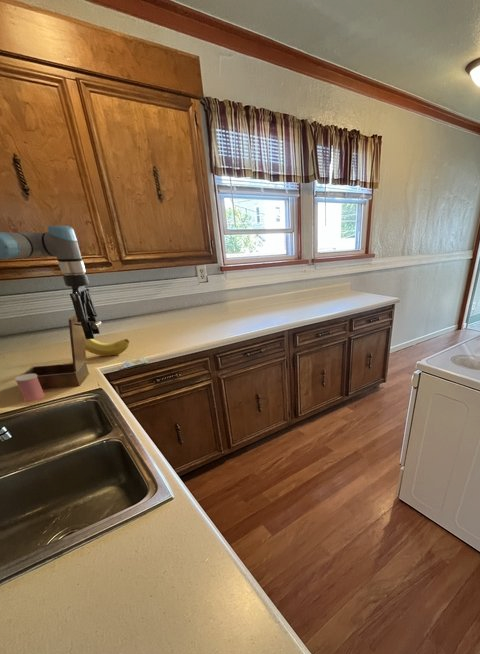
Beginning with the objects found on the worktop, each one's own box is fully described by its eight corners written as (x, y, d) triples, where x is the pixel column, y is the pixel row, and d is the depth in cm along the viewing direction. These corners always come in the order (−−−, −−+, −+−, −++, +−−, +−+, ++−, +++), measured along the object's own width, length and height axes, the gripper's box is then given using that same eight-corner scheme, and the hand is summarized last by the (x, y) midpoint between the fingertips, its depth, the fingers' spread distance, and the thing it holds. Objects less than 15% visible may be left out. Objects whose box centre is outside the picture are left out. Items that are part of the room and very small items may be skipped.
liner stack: (20, 404, 117) (10, 381, 113) (30, 396, 123) (21, 374, 118) (40, 402, 118) (30, 379, 114) (49, 394, 123) (40, 372, 119)
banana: (132, 350, 170) (122, 312, 161) (131, 354, 166) (121, 314, 157) (82, 356, 163) (69, 316, 154) (80, 360, 158) (66, 318, 149)
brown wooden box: (23, 393, 125) (16, 378, 122) (37, 380, 136) (32, 366, 133) (80, 387, 129) (75, 373, 126) (90, 375, 140) (85, 362, 137)
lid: (68, 319, 118) (94, 322, 120) (79, 312, 129) (103, 315, 131) (73, 371, 126) (98, 373, 129) (84, 361, 137) (106, 362, 140)
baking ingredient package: (148, 361, 153) (114, 369, 145) (148, 362, 154) (114, 370, 145) (142, 356, 159) (109, 364, 151) (143, 357, 160) (109, 365, 151)
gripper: (72, 271, 125) (90, 330, 136) (51, 277, 108) (73, 344, 119) (94, 271, 127) (109, 329, 137) (76, 276, 110) (96, 342, 120)
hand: (93, 336), depth 128 cm, fingers open, 7 cm apart
